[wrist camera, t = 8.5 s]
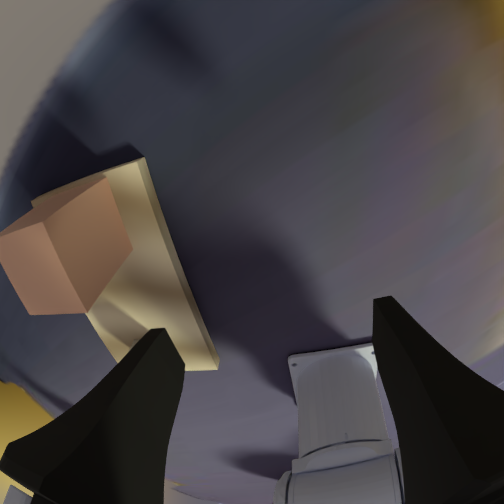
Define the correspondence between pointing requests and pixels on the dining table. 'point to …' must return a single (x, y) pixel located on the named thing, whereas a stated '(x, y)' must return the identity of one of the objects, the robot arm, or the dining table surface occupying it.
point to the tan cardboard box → (65, 250)
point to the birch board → (145, 275)
